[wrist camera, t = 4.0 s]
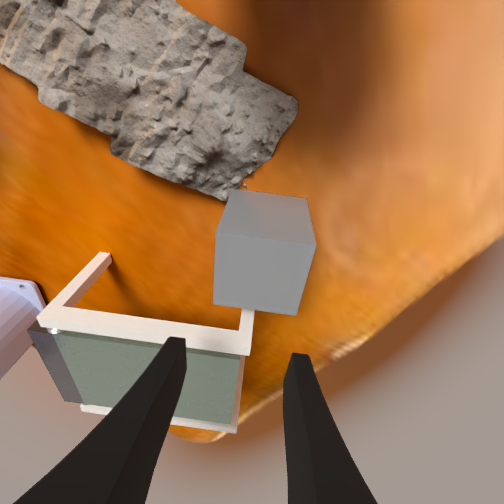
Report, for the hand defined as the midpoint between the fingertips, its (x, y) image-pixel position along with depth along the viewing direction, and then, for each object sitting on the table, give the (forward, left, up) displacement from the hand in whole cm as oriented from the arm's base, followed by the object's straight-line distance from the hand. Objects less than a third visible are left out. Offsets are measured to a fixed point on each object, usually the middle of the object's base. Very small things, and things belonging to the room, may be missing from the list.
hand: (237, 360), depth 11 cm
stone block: (+1, +1, -9) cm, 10 cm away
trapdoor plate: (-6, -8, -4) cm, 11 cm away
